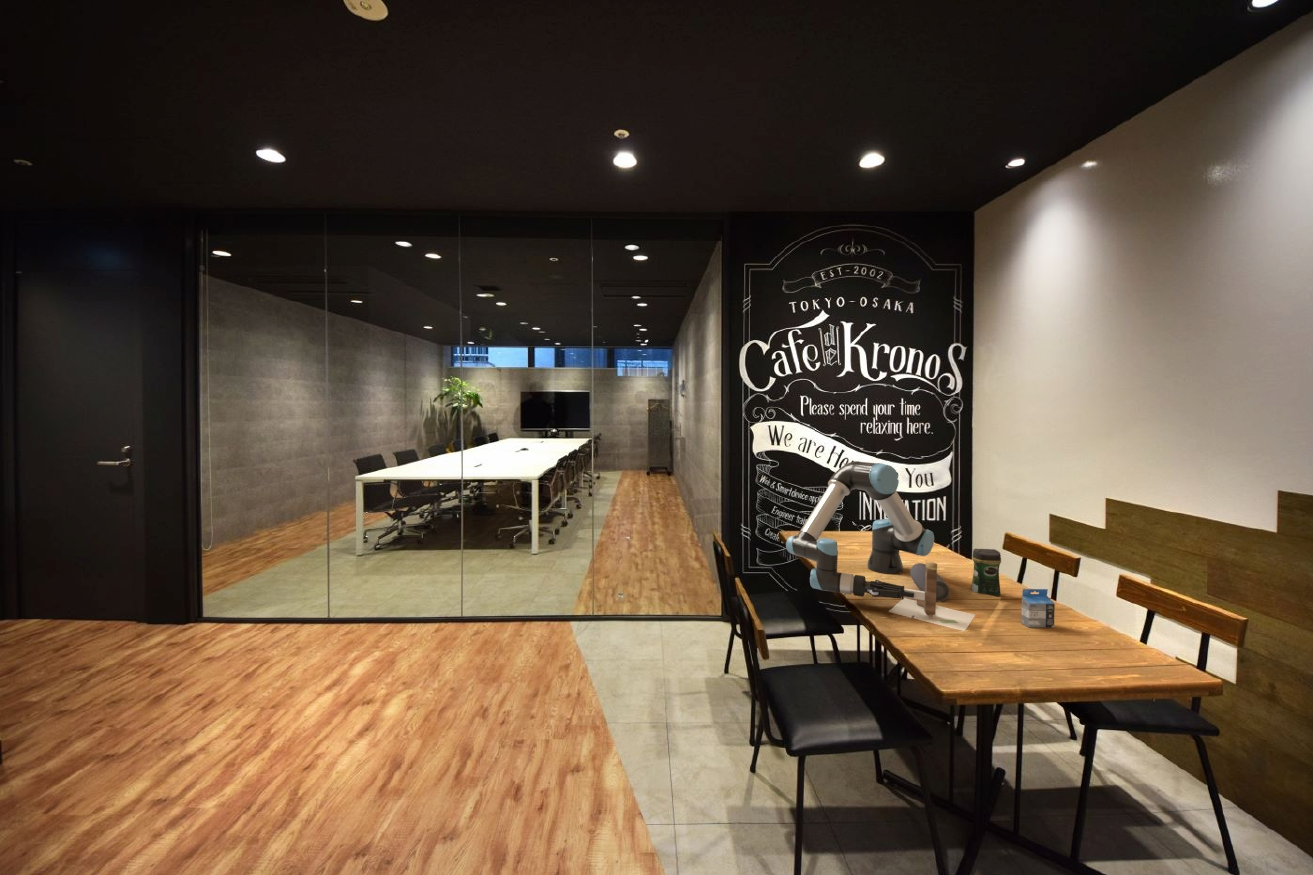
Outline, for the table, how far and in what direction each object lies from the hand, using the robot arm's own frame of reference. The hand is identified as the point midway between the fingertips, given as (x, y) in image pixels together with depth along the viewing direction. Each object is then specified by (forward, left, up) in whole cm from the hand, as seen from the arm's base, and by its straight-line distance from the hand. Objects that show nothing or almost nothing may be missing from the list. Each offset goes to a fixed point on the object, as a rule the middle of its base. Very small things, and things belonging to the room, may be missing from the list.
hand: (924, 595), depth 180 cm
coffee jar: (+11, +44, -9) cm, 46 cm away
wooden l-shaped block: (-1, +6, -7) cm, 9 cm away
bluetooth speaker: (-6, +29, -9) cm, 31 cm away
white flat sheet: (+1, +5, -9) cm, 10 cm away
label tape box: (+30, +22, -9) cm, 39 cm away
